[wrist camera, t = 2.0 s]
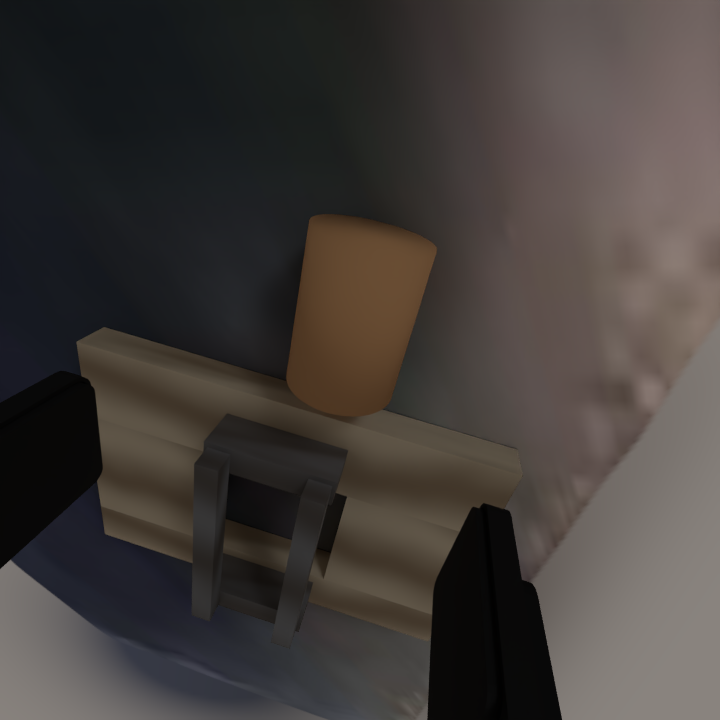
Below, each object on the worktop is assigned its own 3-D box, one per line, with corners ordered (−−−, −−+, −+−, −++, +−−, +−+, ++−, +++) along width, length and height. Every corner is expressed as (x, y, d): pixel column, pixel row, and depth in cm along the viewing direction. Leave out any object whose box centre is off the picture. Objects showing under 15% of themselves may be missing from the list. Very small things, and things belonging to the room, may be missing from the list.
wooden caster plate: (104, 327, 24) (13, 374, 19) (517, 449, 22) (535, 536, 17) (124, 512, 31) (64, 579, 27) (429, 612, 30) (425, 703, 25)
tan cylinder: (322, 207, 18) (294, 231, 14) (433, 235, 18) (440, 267, 14) (300, 345, 21) (272, 399, 17) (393, 368, 22) (389, 427, 17)
